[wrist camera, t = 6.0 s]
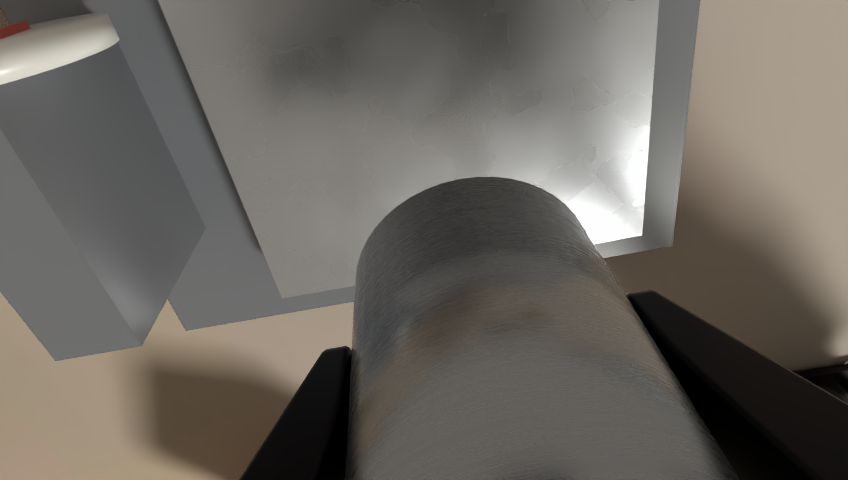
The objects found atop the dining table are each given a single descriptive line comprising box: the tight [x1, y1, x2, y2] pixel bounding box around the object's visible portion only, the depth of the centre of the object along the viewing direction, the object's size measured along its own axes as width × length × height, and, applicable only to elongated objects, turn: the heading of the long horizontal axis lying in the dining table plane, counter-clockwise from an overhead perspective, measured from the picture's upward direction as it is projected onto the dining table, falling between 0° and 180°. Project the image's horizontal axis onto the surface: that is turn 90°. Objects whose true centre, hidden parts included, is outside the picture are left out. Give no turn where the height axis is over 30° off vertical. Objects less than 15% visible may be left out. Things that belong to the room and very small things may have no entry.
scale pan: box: [158, 0, 659, 298], centre depth 16 cm, size 13×12×1 cm
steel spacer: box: [345, 177, 740, 480], centre depth 7 cm, size 4×4×6 cm
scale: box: [0, 0, 700, 361], centre depth 16 cm, size 21×16×9 cm
